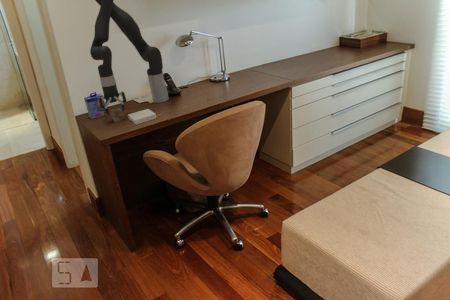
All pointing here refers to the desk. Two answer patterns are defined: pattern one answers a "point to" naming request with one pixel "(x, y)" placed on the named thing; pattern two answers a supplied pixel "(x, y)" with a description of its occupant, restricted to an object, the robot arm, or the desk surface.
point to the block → (117, 115)
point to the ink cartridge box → (94, 106)
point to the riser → (142, 116)
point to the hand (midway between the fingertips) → (115, 112)
